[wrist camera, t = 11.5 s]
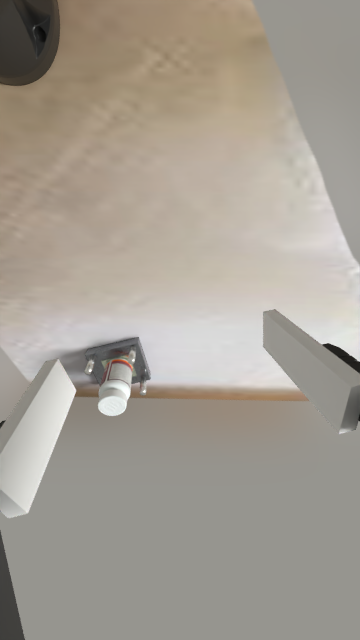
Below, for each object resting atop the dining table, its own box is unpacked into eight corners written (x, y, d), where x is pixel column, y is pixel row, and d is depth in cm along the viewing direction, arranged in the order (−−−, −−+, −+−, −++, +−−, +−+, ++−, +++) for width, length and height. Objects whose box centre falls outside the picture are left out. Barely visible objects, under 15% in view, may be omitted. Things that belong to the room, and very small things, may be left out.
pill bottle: (114, 381, 51) (106, 422, 41) (100, 363, 49) (87, 402, 39) (137, 371, 51) (135, 410, 41) (124, 352, 48) (118, 389, 38)
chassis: (87, 349, 50) (78, 370, 43) (138, 337, 50) (137, 356, 43) (104, 383, 55) (98, 407, 48) (150, 372, 55) (150, 394, 48)
